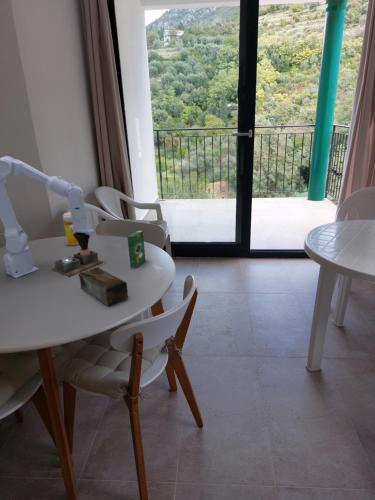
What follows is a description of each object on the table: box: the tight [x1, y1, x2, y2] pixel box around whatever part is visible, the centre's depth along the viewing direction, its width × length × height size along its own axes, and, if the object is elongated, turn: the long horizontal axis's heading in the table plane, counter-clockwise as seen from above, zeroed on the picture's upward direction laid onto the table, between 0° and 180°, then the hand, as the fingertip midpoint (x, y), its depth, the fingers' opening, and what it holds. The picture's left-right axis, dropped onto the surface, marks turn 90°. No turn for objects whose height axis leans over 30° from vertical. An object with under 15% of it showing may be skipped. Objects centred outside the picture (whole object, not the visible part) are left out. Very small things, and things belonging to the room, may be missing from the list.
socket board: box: [51, 249, 104, 278], centre depth 137 cm, size 16×12×4 cm
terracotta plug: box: [79, 247, 91, 257], centre depth 139 cm, size 4×4×4 cm
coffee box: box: [126, 230, 146, 269], centre depth 134 cm, size 8×3×13 cm, turn 158°
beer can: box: [62, 211, 79, 247], centre depth 160 cm, size 6×6×15 cm
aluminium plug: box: [61, 256, 73, 264], centre depth 133 cm, size 4×4×4 cm
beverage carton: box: [78, 266, 129, 307], centre depth 114 cm, size 8×19×7 cm, turn 43°
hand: (84, 249), depth 138 cm, fingers closed, pressing on terracotta plug
